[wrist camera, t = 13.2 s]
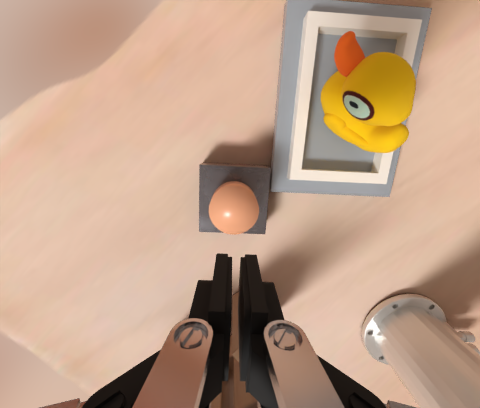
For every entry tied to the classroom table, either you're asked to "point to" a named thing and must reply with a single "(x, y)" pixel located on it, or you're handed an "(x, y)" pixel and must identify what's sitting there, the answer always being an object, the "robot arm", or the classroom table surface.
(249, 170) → the button base
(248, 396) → the wooden toy
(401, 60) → the duckling
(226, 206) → the button
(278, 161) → the tray
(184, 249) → the classroom table surface
